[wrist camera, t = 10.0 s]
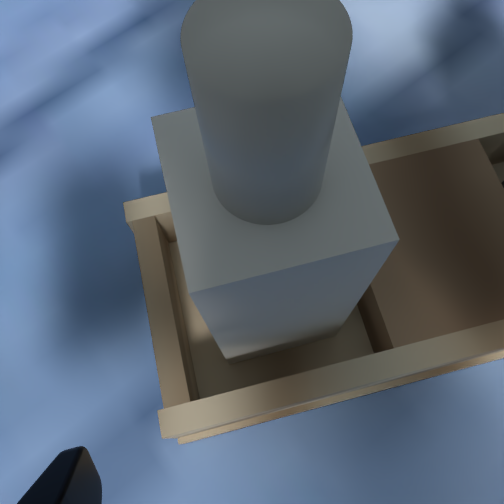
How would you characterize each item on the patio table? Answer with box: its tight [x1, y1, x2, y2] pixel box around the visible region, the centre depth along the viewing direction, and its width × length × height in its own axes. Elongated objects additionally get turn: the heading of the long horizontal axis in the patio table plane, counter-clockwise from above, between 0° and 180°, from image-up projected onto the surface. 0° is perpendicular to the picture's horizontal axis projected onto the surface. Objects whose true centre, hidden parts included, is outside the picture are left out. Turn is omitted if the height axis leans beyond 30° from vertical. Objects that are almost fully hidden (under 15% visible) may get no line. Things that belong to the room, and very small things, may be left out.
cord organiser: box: [123, 113, 504, 444], centre depth 17 cm, size 20×8×4 cm, turn 104°
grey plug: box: [151, 0, 400, 364], centre depth 12 cm, size 4×4×12 cm
